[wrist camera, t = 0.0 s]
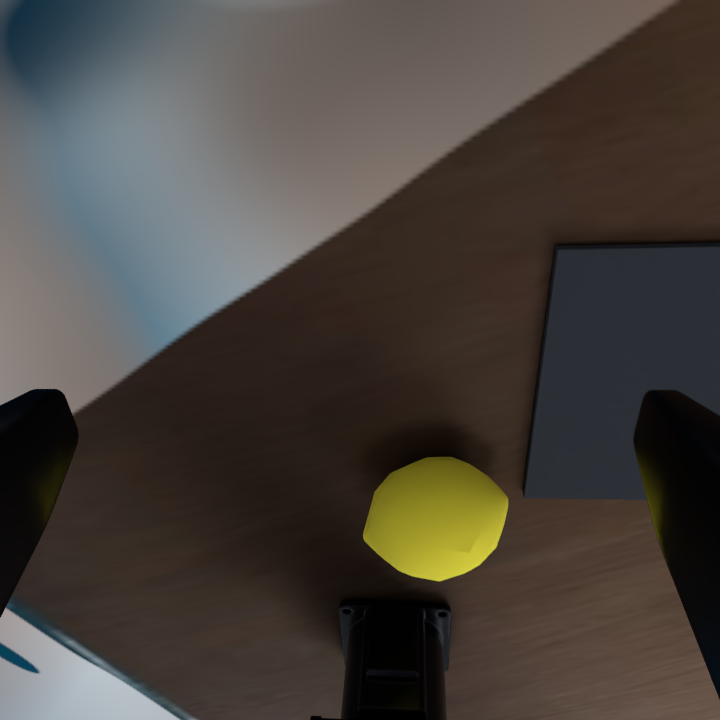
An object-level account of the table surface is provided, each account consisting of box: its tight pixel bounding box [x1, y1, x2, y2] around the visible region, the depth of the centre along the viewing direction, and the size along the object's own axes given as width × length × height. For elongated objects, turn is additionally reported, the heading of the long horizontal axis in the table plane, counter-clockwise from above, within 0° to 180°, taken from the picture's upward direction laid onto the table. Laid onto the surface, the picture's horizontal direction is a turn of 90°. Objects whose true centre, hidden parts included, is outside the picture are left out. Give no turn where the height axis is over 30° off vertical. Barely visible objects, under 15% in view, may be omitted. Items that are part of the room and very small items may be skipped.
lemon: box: [363, 457, 508, 581], centre depth 28 cm, size 7×5×5 cm
